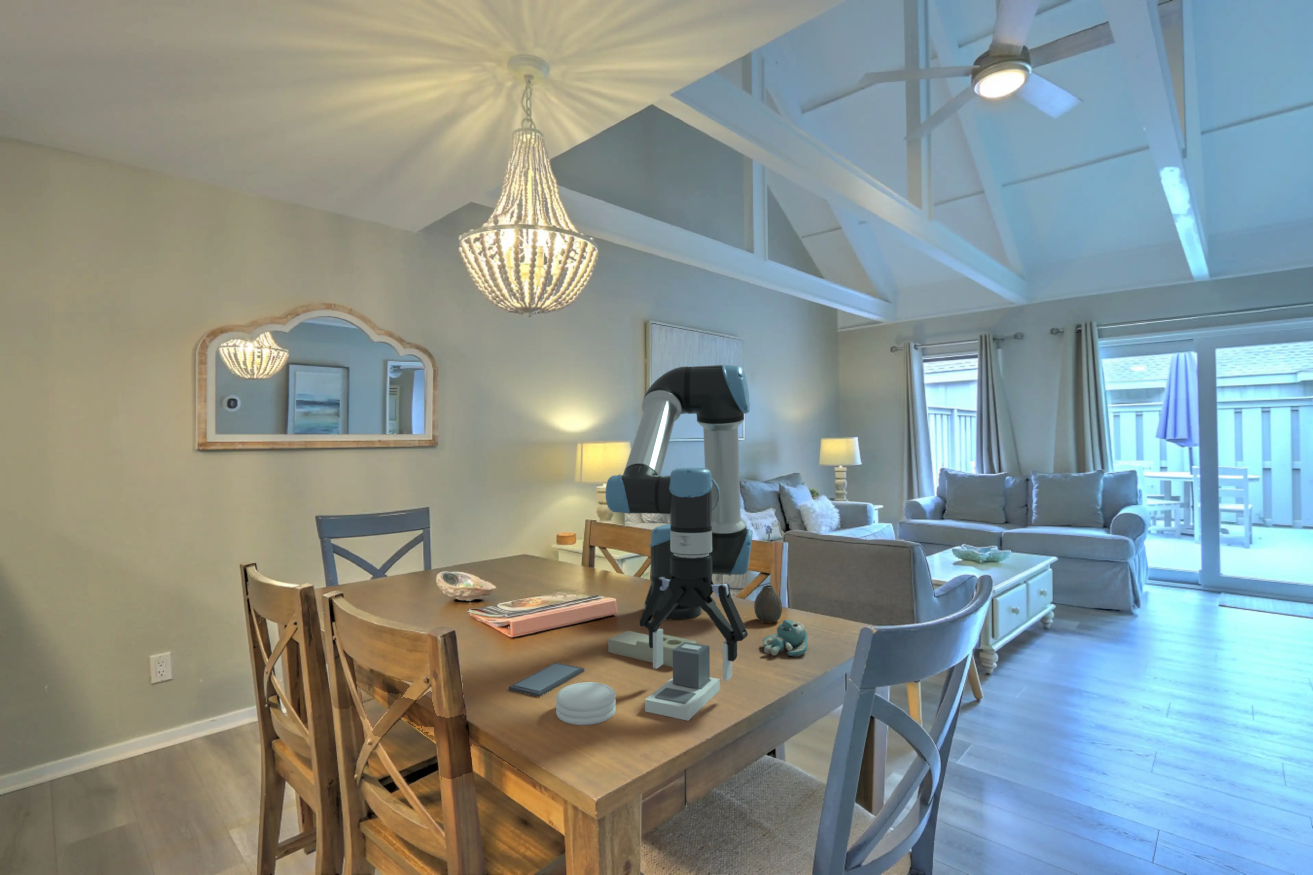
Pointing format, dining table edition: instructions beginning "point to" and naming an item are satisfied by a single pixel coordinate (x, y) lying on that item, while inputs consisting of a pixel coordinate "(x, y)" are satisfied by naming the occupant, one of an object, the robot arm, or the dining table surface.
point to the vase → (768, 605)
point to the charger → (691, 665)
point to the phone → (546, 679)
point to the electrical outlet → (644, 646)
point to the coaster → (585, 703)
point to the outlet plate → (681, 699)
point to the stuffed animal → (787, 639)
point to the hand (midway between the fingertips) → (691, 672)
